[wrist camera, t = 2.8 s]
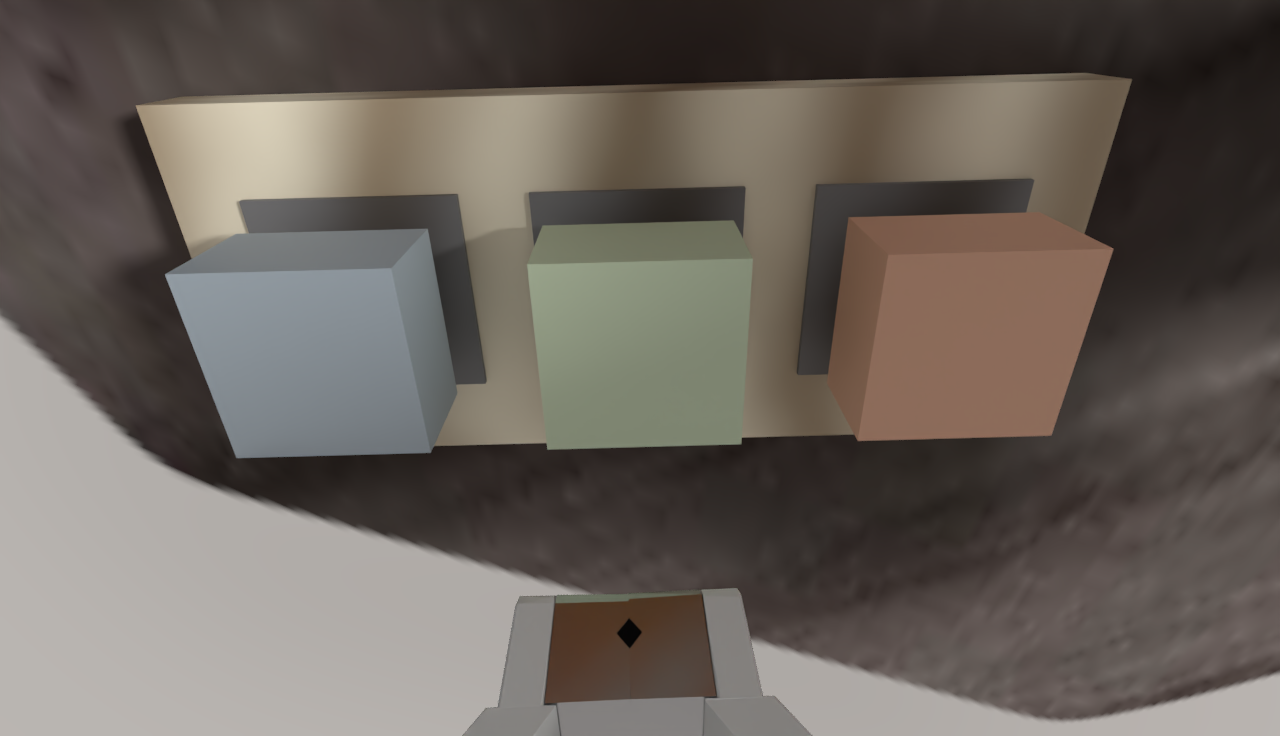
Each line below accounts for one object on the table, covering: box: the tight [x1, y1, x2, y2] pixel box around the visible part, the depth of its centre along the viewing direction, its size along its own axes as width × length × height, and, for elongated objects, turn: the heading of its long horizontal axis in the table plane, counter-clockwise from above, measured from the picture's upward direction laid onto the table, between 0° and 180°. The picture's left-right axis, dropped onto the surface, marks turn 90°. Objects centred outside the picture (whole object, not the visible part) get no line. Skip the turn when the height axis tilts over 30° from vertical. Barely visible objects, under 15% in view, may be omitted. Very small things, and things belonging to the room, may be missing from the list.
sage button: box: [527, 220, 753, 450], centre depth 17 cm, size 5×5×3 cm
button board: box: [136, 73, 1132, 446], centre depth 21 cm, size 26×11×2 cm, turn 91°
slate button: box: [165, 229, 457, 458], centre depth 17 cm, size 5×5×3 cm
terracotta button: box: [827, 212, 1113, 441], centre depth 17 cm, size 5×5×3 cm
